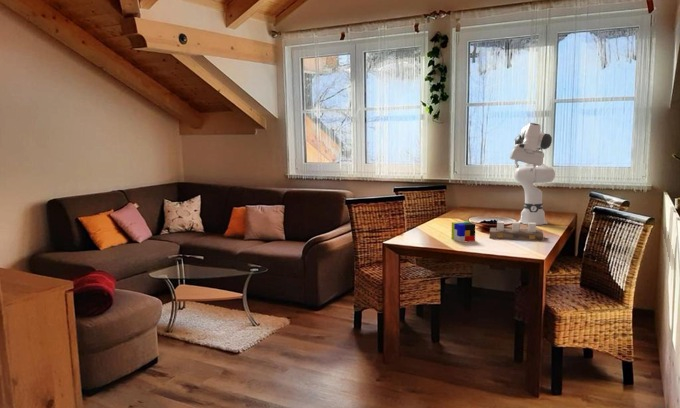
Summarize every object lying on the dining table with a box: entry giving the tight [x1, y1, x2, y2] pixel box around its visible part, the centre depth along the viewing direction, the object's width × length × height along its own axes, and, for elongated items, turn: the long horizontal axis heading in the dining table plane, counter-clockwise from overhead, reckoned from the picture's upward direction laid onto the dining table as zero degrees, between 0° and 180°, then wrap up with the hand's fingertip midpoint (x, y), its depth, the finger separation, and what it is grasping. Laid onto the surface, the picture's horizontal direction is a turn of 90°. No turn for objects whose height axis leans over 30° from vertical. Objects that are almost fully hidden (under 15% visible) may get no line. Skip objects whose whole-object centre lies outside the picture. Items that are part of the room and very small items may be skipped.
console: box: [489, 227, 544, 242], centre depth 310 cm, size 12×30×4 cm, turn 73°
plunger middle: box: [511, 221, 521, 232], centre depth 309 cm, size 4×4×6 cm
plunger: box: [527, 222, 537, 232], centre depth 307 cm, size 4×4×6 cm
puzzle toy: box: [451, 220, 476, 243], centre depth 305 cm, size 10×10×10 cm
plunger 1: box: [496, 220, 505, 231], centre depth 312 cm, size 4×4×6 cm
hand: (523, 169), depth 322 cm, fingers open, 8 cm apart
